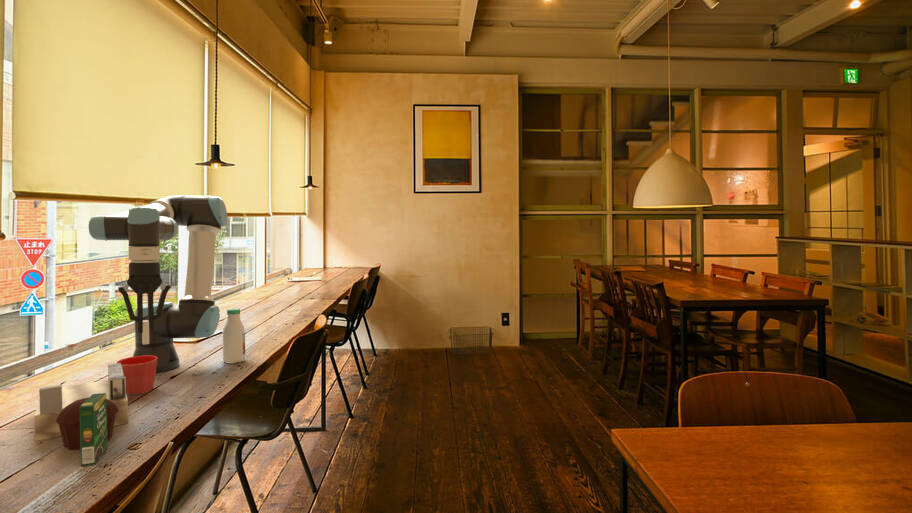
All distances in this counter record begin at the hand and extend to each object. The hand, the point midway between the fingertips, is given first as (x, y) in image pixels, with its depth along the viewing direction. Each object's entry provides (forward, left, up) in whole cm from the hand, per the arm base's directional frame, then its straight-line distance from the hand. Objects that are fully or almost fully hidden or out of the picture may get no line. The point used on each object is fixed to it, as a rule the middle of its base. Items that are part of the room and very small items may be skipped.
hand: (145, 343), depth 138 cm
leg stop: (+20, +15, -11) cm, 28 cm away
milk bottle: (-31, -32, -17) cm, 47 cm away
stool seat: (+14, +4, -17) cm, 23 cm away
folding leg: (+7, +5, -11) cm, 14 cm away
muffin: (+13, +23, -17) cm, 32 cm away
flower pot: (+1, -13, -17) cm, 22 cm away
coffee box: (+12, +34, -17) cm, 40 cm away
